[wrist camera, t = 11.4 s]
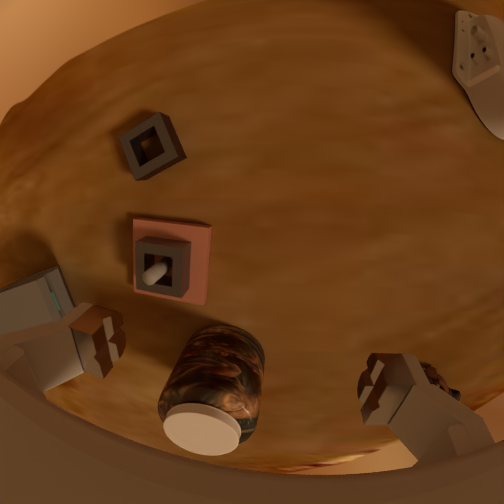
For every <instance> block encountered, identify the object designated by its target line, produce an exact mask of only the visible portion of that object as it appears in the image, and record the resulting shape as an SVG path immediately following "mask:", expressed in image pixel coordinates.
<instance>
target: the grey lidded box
mask: <svg viewBox="0 0 504 504" xmlns="http://www.w3.org/2000/svg"><path fill="white" fill-rule="evenodd" d="M74 308H75V304H74V302H73V300H72V297H71V295H70V293H69V290H68V288H67V285H66V283H65V280H64V277H63V275H62V272H61V269H60V266H59V265H57V266H54V267H51V268H48V269H46V270H43V271H40V272H37V273H35V274H32V275H30V276H27V277H25V278H23V279H20V280H18V281H16V282H14V283H12V284H10V285H8V286H6V287H4V288H2V289H0V335H1V334H5V333H9V332H13V331H17V330H21V329H25V328H29V327H33V326H37V325H41V324H45V323H49V322H53V321H54V322H58V321H59V320H60V319H62V318H63V317H64V316H65V315H66V314H68V313H69V312H70V311H71V310H73V309H74Z"/></svg>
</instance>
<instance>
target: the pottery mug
mask: <svg viewBox="0 0 504 504" xmlns="http://www.w3.org/2000/svg"><path fill="white" fill-rule="evenodd" d="M424 373H425V375H426V376H427V378H428V380H429V382H430V383H432V382H433V381H432V380H436V381H437V383H438V384H439V385H440V389H442V390H443V391H445V392H446V393H448V394H449V395H450V396H452V397H453V398H455V399H456V400H458V401H460V397H461V394H460V392H459V391H457V390H454V389H450V388H449V387H448V386H447V383H446V381H445V380H444V379H443V378H442V377H441V376H440V375H438V374H437V371H436V369H435V368H434V367H427V368H426V370H424Z"/></svg>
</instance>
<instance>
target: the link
mask: <svg viewBox="0 0 504 504" xmlns="http://www.w3.org/2000/svg"><path fill="white" fill-rule="evenodd" d="M155 255H160V256H167V257H173V263H172V276H166V275H163V276H162V277H161V278H160V279H159V280H157V281H156V282H155V283H154V284H153V285H147V284H146V283H145V282H144V281H143V278H142V275H143V273H144V272H145V271H147V270H148V269H149V268H151V267H152V266H153V265H155ZM190 258H191V242H188V241H181V240H174V239H166V238H159V237H151V236H145V237H143V238H141V239H139V240H137V241H135V265H136V289H138V290H143V291H147V292H152V293H157V294H162V295H167V296H173V297H178V298H182V297H183V296H184V294H185V293H186V292H187V291H188V289H189V282H190Z"/></svg>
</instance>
